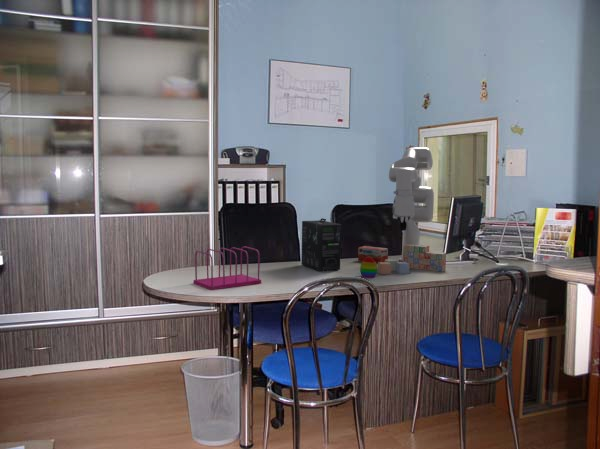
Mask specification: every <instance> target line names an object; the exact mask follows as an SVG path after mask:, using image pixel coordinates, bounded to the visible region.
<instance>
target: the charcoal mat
mask: <svg viewBox="0 0 600 449" xmlns="http://www.w3.org/2000/svg"><path fill="white" fill-rule="evenodd" d="M410 274H411V272H409V273H408V274H407V275H410ZM376 275H379V276H385V275H386V276H388V275H400V274H399V273H396V272H395V271H391V274H380V273H378V268H377V274H376Z"/></svg>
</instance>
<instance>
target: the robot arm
mask: <svg viewBox="0 0 600 449" xmlns="http://www.w3.org/2000/svg"><path fill="white" fill-rule="evenodd" d="M433 162H434V161H433V155H432V152H431V150H430V148H428V147H424V146H423V147H409V148H406V149H405V150H404V152H403V155H402V157H401V158H400V159H397V160H396V161H394V162H393V163H392V164H391V165H390V168H389V171H388V180H389V181H390V182H392V183H396V184H395V190H394V191H393V195H394V199H393V203H392V218H393V219H396V220H398V222H399V230H400V231H402V252H401V257H399V260H398V261H399V262H403V245H407V244H411V245H420V239H421V238H420V236H421V235H420V232H421V231H420V228H419V226H418V225H417V224H416V223H423V224H424V223H426V224H427V223H432V221H433V218H434V205H435V204H434V203H435V202H434V201H435V195H434V194H435V193H434V189H433V188H432V187H430V186H421V184H422V178H421V176H420V175H419V173H418V171H431V169H432V168H433ZM416 204H423V205H416Z"/></svg>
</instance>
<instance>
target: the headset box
mask: <svg viewBox="0 0 600 449" xmlns="http://www.w3.org/2000/svg"><path fill="white" fill-rule="evenodd" d="M326 220H327V218H323V217H321V218H320V219H319V220H302V221H301V263H300V264H301V265H302V266H305V267H308V268H310V269H313V270H316V271H318V272H320V273H321V272H335V271H339V270H341V241H342V240H341V238H342V237H341V236H342V224H341V223H337V222H336V223H335V222H332V221H326Z"/></svg>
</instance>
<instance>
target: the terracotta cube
mask: <svg viewBox="0 0 600 449" xmlns="http://www.w3.org/2000/svg"><path fill="white" fill-rule="evenodd" d="M377 269H378V273H380V274H390V275H392V274H391V263H388V262H378V263H377Z"/></svg>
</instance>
